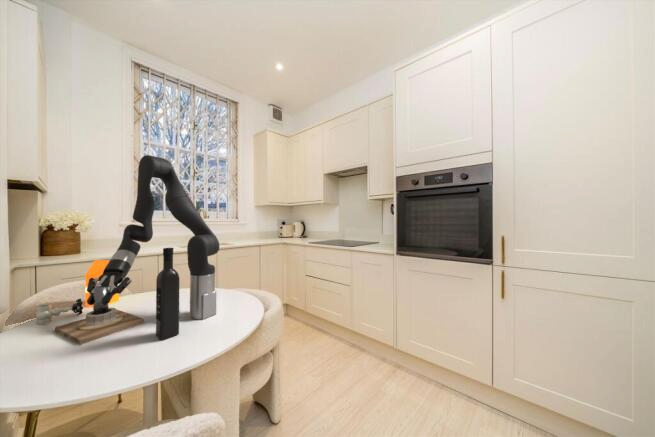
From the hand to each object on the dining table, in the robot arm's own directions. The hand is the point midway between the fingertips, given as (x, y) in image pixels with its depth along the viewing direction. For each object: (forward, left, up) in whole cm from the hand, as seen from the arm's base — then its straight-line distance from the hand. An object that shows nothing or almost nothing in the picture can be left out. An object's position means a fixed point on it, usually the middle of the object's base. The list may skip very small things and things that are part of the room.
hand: (97, 303), depth 86 cm
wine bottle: (-27, -9, -9) cm, 30 cm away
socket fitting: (+1, -2, -9) cm, 9 cm away
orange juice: (+31, -14, -9) cm, 35 cm away
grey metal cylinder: (+1, -2, -4) cm, 4 cm away
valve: (+24, +3, -10) cm, 26 cm away
